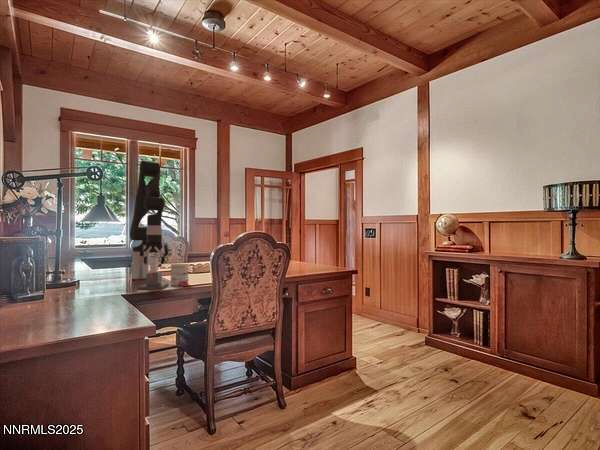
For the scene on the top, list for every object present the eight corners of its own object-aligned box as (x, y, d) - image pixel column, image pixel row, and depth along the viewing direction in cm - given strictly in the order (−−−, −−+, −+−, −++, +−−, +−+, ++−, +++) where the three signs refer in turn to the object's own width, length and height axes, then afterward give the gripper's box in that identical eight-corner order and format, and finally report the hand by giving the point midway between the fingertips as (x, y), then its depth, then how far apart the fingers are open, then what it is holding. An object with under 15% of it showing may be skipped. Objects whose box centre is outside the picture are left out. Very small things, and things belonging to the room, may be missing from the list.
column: (149, 285, 185) (149, 255, 185) (151, 283, 188) (151, 255, 188) (156, 284, 185) (156, 255, 185) (158, 283, 188) (158, 255, 188)
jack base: (138, 289, 180) (138, 274, 180) (146, 285, 192) (146, 271, 192) (161, 289, 181) (162, 274, 181) (168, 285, 193) (168, 271, 193)
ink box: (188, 284, 198) (188, 263, 198) (184, 285, 193) (185, 264, 193) (174, 283, 199) (174, 263, 199) (170, 285, 194) (170, 264, 194)
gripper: (169, 233, 191) (169, 263, 191) (143, 233, 190) (143, 263, 190) (165, 234, 184) (165, 264, 183) (138, 234, 182) (137, 264, 182)
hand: (154, 264), depth 186 cm, fingers open, 8 cm apart
